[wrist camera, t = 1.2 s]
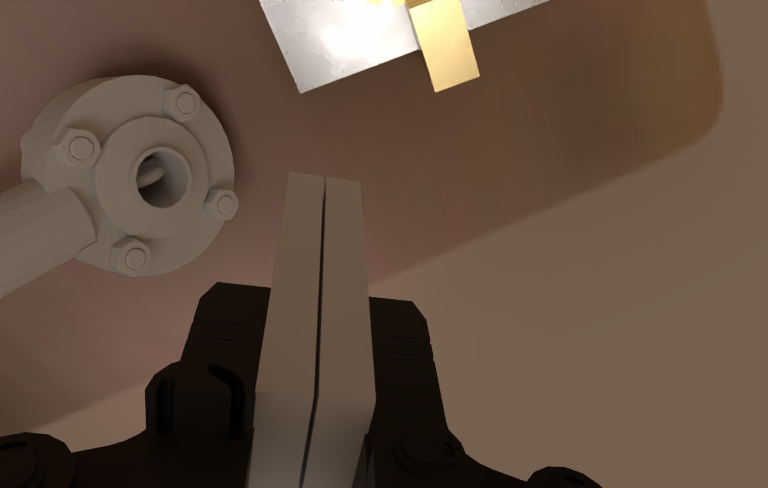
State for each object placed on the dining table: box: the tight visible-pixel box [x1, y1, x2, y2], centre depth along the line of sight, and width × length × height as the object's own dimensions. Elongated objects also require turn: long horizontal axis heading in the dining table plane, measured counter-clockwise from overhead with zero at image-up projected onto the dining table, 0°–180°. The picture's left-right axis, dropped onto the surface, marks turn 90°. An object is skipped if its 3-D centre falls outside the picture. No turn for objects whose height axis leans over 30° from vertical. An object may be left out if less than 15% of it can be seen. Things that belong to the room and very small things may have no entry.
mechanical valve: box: [0, 75, 239, 298], centre depth 35 cm, size 10×18×15 cm
